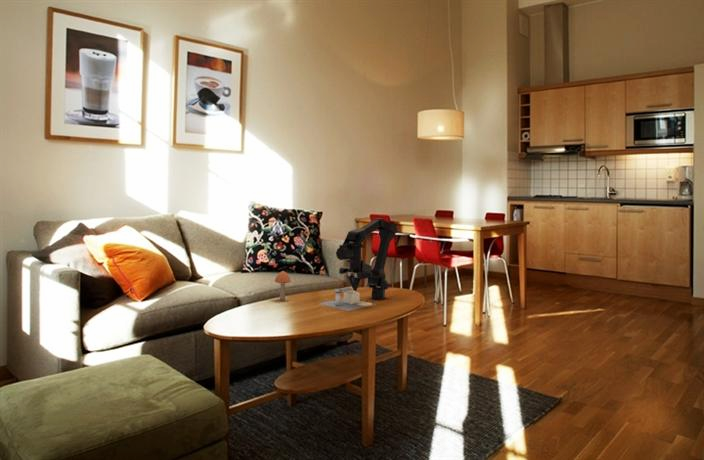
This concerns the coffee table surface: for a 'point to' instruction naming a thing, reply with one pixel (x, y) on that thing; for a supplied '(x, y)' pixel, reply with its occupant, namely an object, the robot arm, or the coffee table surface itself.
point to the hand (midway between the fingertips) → (355, 290)
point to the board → (342, 305)
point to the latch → (343, 289)
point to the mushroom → (282, 283)
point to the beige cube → (351, 297)
